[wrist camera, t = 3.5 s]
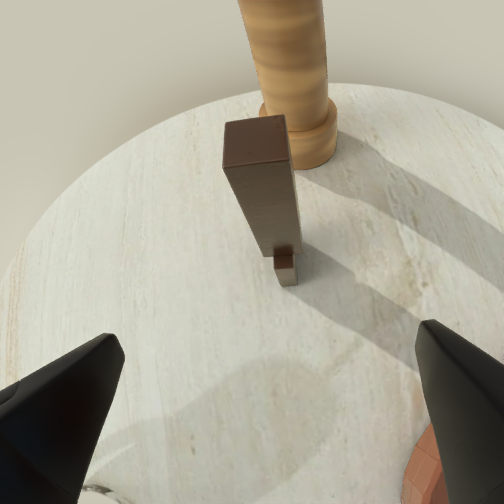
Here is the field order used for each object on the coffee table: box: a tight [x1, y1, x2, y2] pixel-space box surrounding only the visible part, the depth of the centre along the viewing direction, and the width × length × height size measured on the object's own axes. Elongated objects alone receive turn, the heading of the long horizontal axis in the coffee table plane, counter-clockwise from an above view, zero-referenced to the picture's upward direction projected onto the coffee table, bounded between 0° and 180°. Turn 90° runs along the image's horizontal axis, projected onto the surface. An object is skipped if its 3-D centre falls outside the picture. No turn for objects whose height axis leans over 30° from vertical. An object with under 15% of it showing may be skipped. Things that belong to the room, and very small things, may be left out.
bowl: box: [401, 423, 449, 504], centre depth 11 cm, size 14×14×5 cm
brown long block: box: [222, 114, 303, 286], centre depth 17 cm, size 4×2×13 cm, turn 1°
